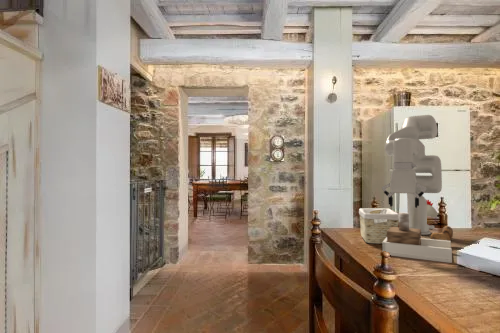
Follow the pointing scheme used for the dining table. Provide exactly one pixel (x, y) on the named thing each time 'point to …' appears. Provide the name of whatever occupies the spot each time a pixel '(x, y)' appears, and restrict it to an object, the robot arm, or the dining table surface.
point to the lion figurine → (443, 234)
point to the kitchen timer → (431, 210)
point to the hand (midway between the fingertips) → (403, 206)
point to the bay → (421, 250)
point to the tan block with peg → (404, 232)
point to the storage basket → (376, 223)
